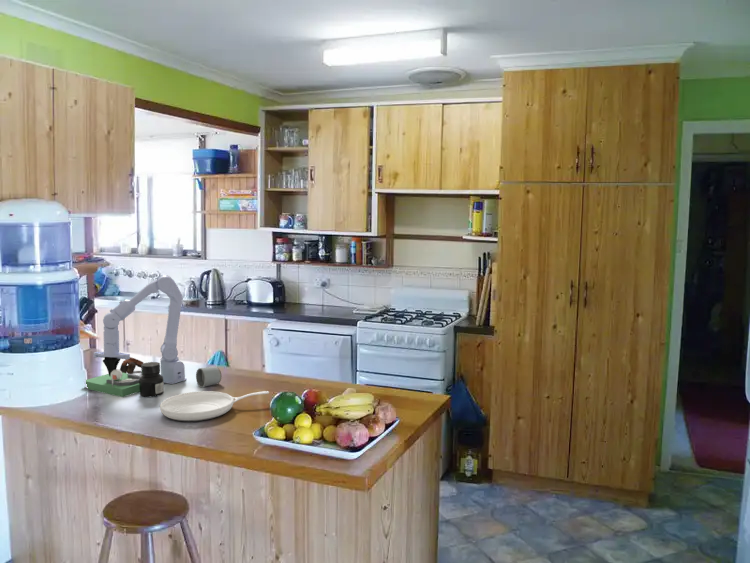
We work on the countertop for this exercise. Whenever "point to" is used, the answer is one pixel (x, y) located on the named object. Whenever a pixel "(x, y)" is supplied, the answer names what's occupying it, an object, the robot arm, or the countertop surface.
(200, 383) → the ceramic mug
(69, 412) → the countertop surface
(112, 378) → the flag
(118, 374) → the ball
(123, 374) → the mat
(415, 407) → the countertop surface
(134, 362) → the pottery mug
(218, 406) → the pan
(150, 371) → the ink bottle
